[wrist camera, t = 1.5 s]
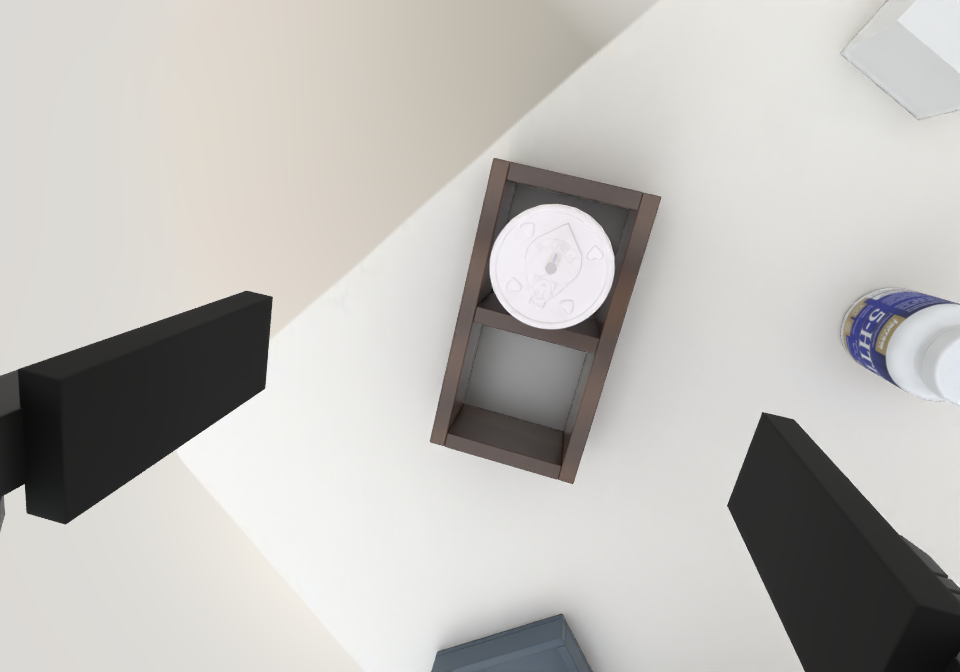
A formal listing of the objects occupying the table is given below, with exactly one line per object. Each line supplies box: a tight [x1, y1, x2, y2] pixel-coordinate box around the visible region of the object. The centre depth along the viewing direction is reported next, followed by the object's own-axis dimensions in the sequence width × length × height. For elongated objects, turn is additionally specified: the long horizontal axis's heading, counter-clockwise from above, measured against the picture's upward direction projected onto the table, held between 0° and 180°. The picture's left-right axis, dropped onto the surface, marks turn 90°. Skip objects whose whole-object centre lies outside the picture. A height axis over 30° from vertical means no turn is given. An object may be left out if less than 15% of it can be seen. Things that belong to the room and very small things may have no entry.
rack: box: [430, 158, 661, 484], centre depth 36 cm, size 18×10×6 cm, turn 167°
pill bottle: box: [841, 288, 960, 406], centre depth 31 cm, size 5×5×9 cm
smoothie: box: [490, 204, 615, 329], centre depth 31 cm, size 6×6×14 cm
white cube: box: [841, 0, 960, 120], centre depth 28 cm, size 6×6×6 cm
